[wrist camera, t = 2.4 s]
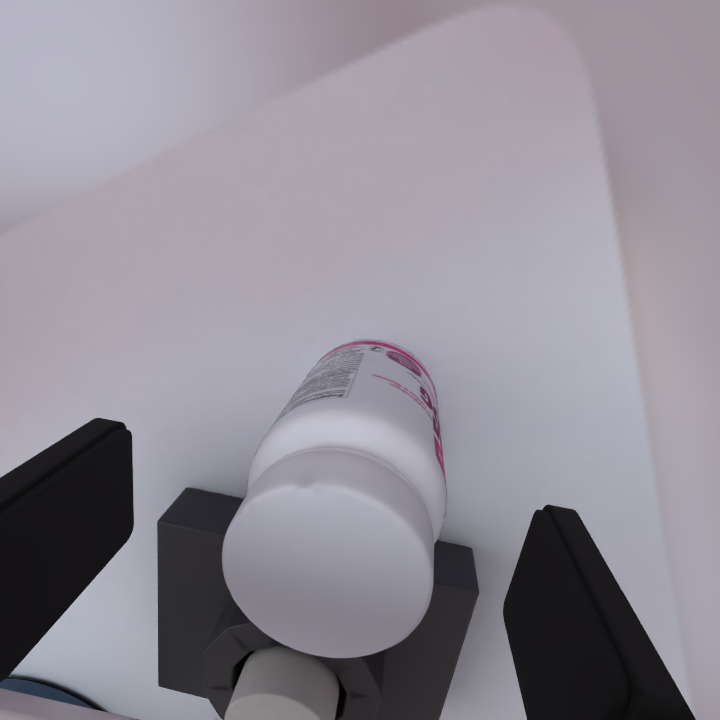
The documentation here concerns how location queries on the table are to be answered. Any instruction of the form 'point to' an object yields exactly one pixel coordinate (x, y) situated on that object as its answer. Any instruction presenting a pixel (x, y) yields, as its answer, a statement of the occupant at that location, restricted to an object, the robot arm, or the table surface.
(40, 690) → the canister
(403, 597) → the pill bottle
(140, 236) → the table surface
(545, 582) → the robot arm
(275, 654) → the button
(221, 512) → the control block
